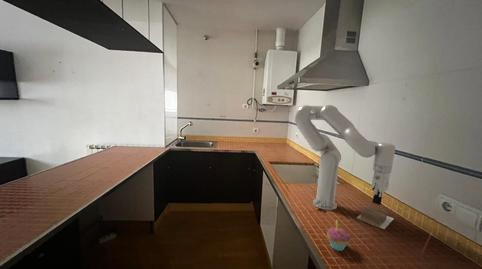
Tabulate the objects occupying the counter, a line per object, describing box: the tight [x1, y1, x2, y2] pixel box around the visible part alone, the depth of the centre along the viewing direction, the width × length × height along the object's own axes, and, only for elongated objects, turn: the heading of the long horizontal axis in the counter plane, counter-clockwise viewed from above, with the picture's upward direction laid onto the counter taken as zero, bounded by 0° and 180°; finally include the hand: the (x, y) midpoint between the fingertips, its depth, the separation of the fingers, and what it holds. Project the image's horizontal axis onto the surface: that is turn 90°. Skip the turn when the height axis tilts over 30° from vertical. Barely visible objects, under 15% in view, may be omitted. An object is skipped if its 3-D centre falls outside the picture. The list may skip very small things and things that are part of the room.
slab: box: [359, 205, 388, 228], centre depth 101 cm, size 4×8×12 cm
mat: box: [356, 214, 395, 230], centre depth 104 cm, size 16×12×1 cm
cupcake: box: [326, 219, 351, 252], centre depth 80 cm, size 9×8×12 cm
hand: (376, 203), depth 102 cm, fingers closed
